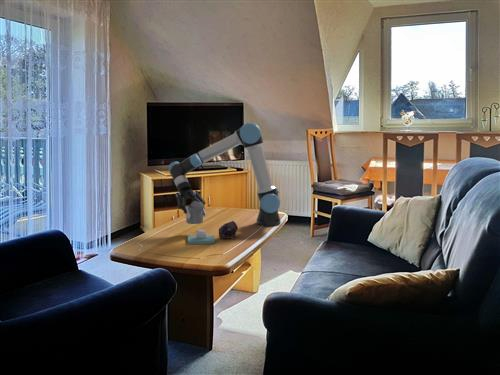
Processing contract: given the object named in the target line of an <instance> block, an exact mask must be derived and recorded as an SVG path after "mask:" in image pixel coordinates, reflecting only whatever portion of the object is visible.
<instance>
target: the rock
mask: <svg viewBox="0 0 500 375" xmlns="http://www.w3.org/2000/svg"><path fill="white" fill-rule="evenodd" d="M238 230H239V229H238V225H237V223H236V222H235V221H234V220H232V221H231V220H230V221H229V222H227V223H224V224H223V225H221V226H220V227H219V228H218V238H220V239H221V240H227V239H233V238H234V237H235V236H236V235H237V232H238Z"/></svg>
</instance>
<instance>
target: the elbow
mask: <svg viewBox="0 0 500 375" xmlns="http://www.w3.org/2000/svg"><path fill="white" fill-rule="evenodd" d="M185 207H187V208H188V211H189V213H190V215H191V217H190V219H188V217H187V215H186V214H185V215H186V216H185V217H186V219H185V220H186V223H187V224H189V225H199V224H203V222H204V216H203V209H204V207H205V205H203V203H201V202H197V201H193V200H192V201H191V203H190V204H189V205H185Z"/></svg>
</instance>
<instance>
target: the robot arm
mask: <svg viewBox="0 0 500 375" xmlns="http://www.w3.org/2000/svg"><path fill="white" fill-rule="evenodd" d="M239 145H240V146H241V145H242V146H243V149H245V150H247V153H248V157H249V161H250V164H251V167H252V170H253V174H254V178H255V181H256V184H257V188H258V190H257V192H256V193H257V197H258V202H259V212H258V215H257V217H256V225H258V226H262V225H264V227H273V226H272V225H276V226H279V224H280V225H281V221H282V220H281V218H280V214H279V208H280V206H281V199H280V196H279V193H280V192H279V188H278V187H276V186H275V185H274V184H273V182H272V179H271V175H270V171H269V167H268V164H267V160H266V157H265V154H264V149H263V145H264V140H263V136H262V132H261V128H260V126H259V125H258V124H257V123H255V122H250V121H249V122H246V123H244V124H243V125H242V126H241V127H239V128H238V129H236V130H235V131H234V133H233V134H231V135H229V136H227V137H224V138H223V139H221V140H219V141H217V142H216V143H215V142H214V144H212V145H210V146H207V147H206V148H204V149H202V150H199V151H198V152H196V153H193V154H192V155H190V156H188V157H187V158H185V159H184V160H183V161H181V162H179V161H178V160H177V161H176V160H175V161H173V162H170V164H168V171H169V174H170V175H171V178H172V180H173V182H174V184H175V186H176V189H177V191H178V192H176V193H175V197H176V201H177V206H178V209H179V210H181V211H183V214H185V215H187V217H188V219H190V217H191V215H190V213H189V211H188V208H187V207H186V203H187V200H188V199H190V200H192V202H193V201H197V202H201V203H203V205H204V209H203V218H204V217H206V215H207V212H206V207H205V204H206V201H205V200H204V198H203V197H202V196H201V194H200V193H199V191H198V190H197V189H196V190H195V191H194V190H193V189H192V187H191V184H190V182H189V179H188V178H187V176H186V175H187V174H189V173H190V172H192V171H193V170H195V169H196V168H198V167H200V166H201V165H203V164H204V163H205V164H206V163H207V162H208V161H211V160H212V159H214V158H216V157H218V156H220V155H222V154H224V153H226V152H228V151H230V150H232V149H234V148H236V147H237V146H239ZM181 197H182V198H181Z"/></svg>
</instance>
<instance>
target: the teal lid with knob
mask: <svg viewBox="0 0 500 375" xmlns="http://www.w3.org/2000/svg"><path fill="white" fill-rule="evenodd" d="M208 244H209V245H214V244H215V235H214V234H207V231H206V229H197V230H196V233H195V235H187V245H208Z"/></svg>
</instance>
